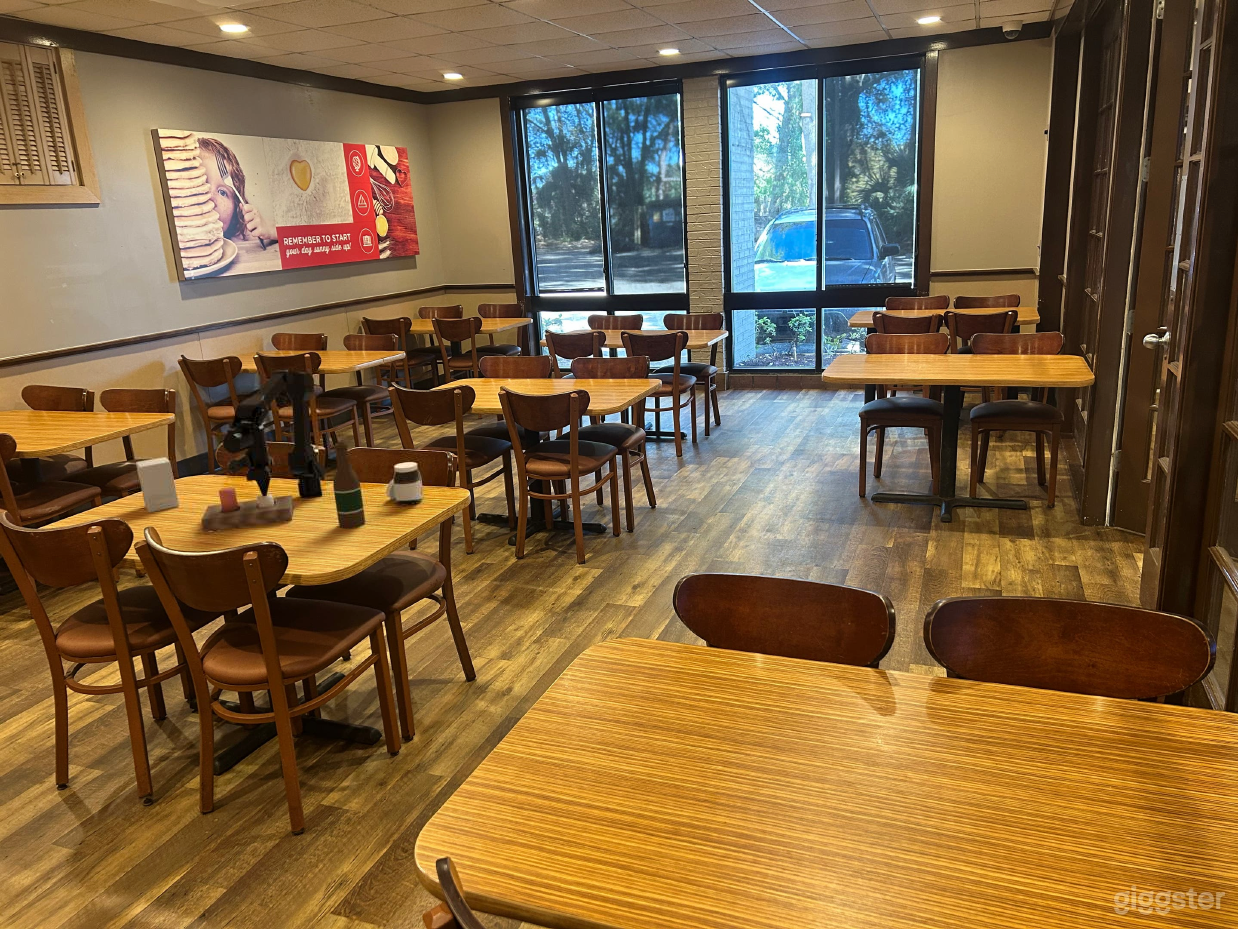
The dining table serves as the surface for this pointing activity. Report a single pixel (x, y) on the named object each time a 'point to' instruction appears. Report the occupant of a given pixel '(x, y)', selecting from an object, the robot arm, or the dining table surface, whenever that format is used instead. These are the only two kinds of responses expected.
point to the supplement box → (157, 484)
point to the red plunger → (228, 499)
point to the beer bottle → (347, 491)
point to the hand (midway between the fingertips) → (264, 495)
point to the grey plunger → (265, 501)
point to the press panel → (248, 514)
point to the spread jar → (406, 484)
